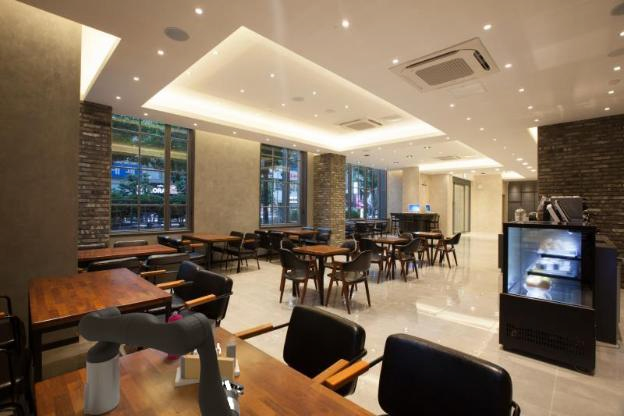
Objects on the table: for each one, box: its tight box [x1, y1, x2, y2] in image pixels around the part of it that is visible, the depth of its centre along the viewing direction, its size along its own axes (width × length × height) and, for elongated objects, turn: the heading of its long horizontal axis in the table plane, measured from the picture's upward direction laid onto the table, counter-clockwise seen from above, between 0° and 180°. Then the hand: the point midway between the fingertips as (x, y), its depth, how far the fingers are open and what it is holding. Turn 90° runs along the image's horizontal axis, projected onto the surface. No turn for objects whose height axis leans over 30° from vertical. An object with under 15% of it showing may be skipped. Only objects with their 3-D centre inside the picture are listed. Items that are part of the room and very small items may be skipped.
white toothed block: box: [193, 342, 222, 357], centre depth 125 cm, size 11×5×8 cm, turn 110°
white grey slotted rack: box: [174, 341, 241, 387], centre depth 123 cm, size 24×11×10 cm, turn 110°
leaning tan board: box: [179, 354, 236, 382], centre depth 117 cm, size 21×3×8 cm, turn 85°
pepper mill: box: [167, 311, 183, 359], centre depth 137 cm, size 7×7×20 cm
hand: (223, 378), depth 108 cm, fingers closed
